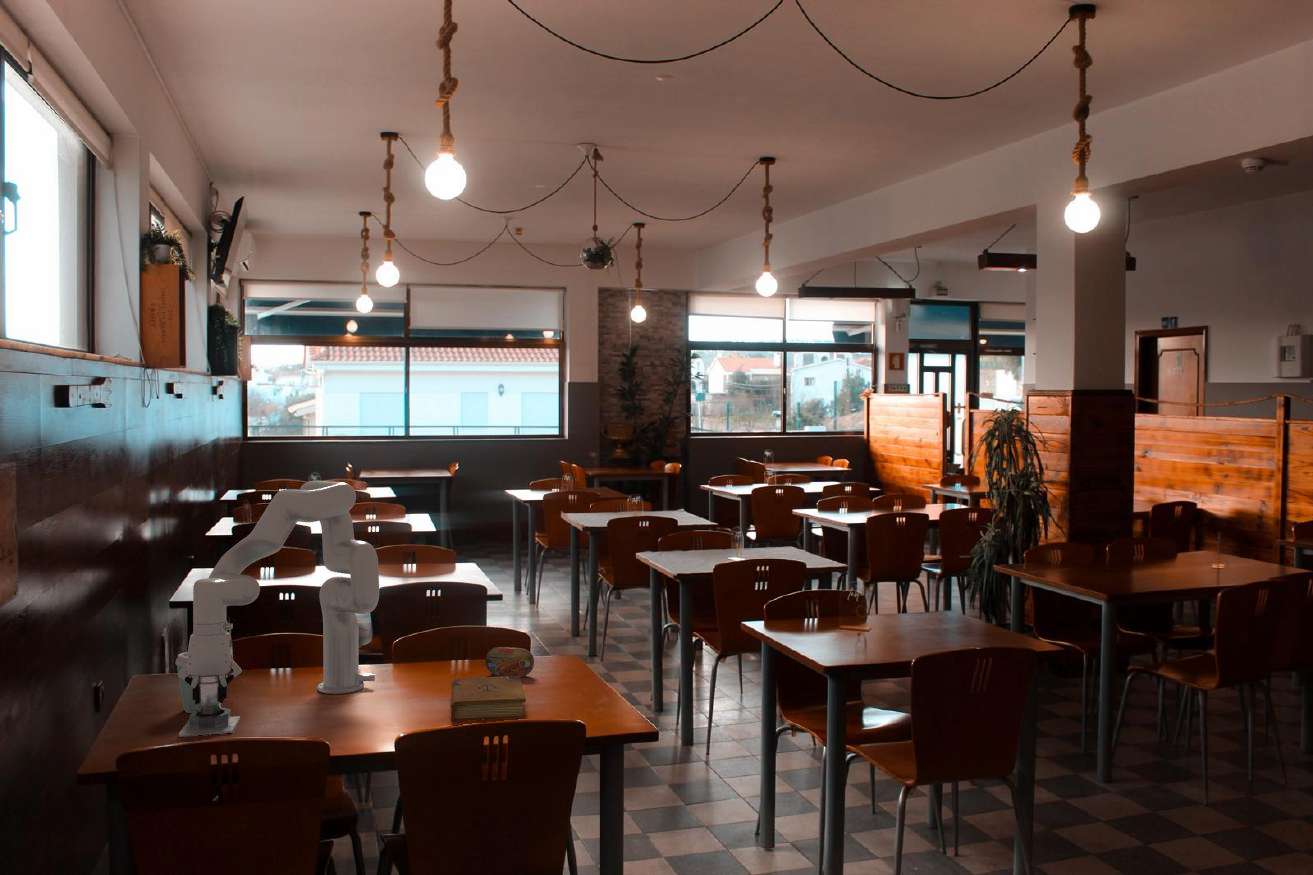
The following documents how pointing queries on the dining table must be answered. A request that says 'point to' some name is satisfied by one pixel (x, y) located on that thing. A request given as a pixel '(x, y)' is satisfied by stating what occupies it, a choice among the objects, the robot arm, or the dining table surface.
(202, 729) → the ring jig
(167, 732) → the dining table surface
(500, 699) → the diary
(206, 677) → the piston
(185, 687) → the disposable coffee cup
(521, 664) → the tin
